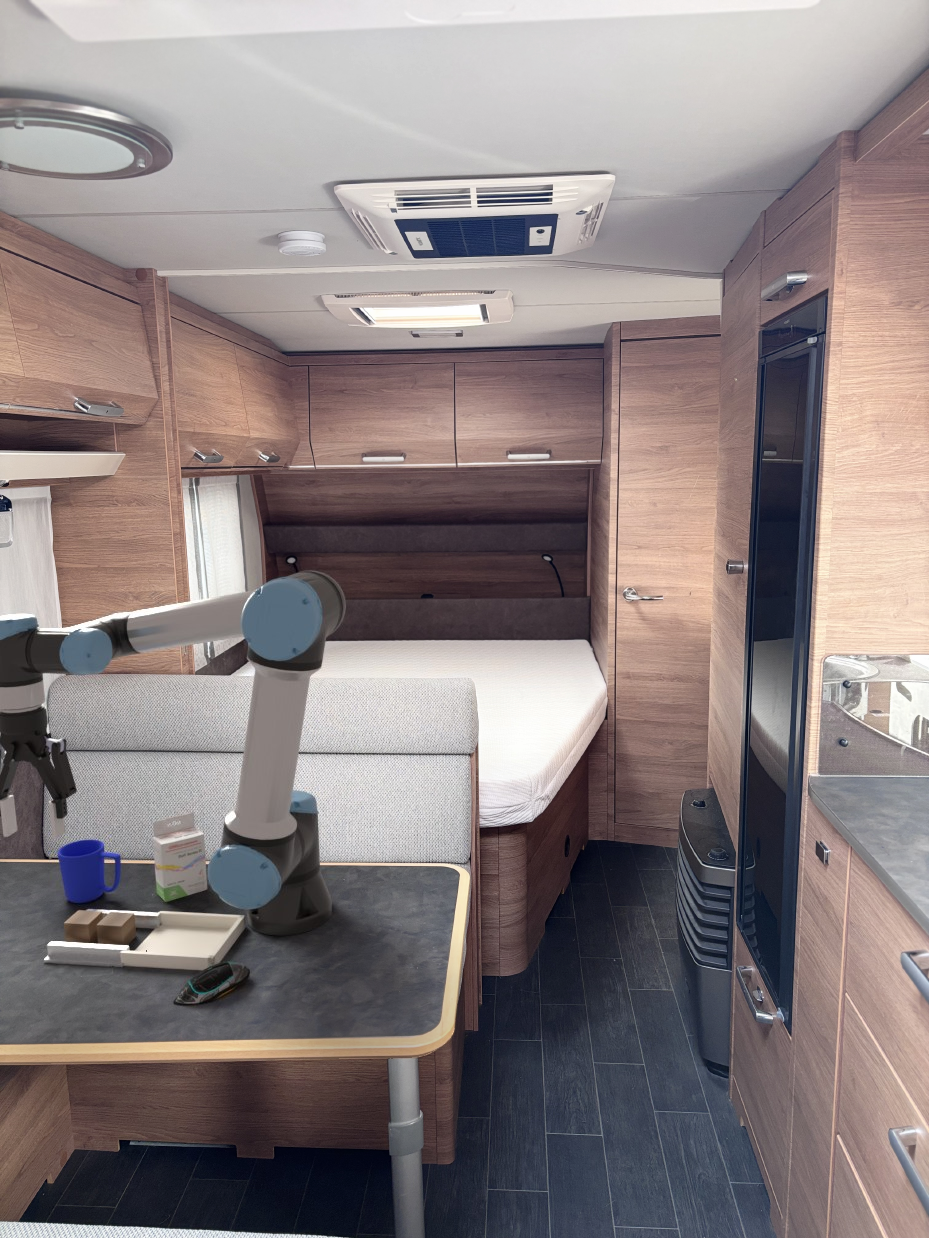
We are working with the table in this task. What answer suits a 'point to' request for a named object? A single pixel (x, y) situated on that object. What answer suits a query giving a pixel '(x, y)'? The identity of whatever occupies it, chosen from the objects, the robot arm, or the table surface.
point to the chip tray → (187, 941)
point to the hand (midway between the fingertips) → (34, 834)
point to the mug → (86, 870)
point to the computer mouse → (212, 983)
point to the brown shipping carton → (82, 927)
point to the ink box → (179, 857)
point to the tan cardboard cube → (116, 929)
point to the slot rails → (98, 945)
